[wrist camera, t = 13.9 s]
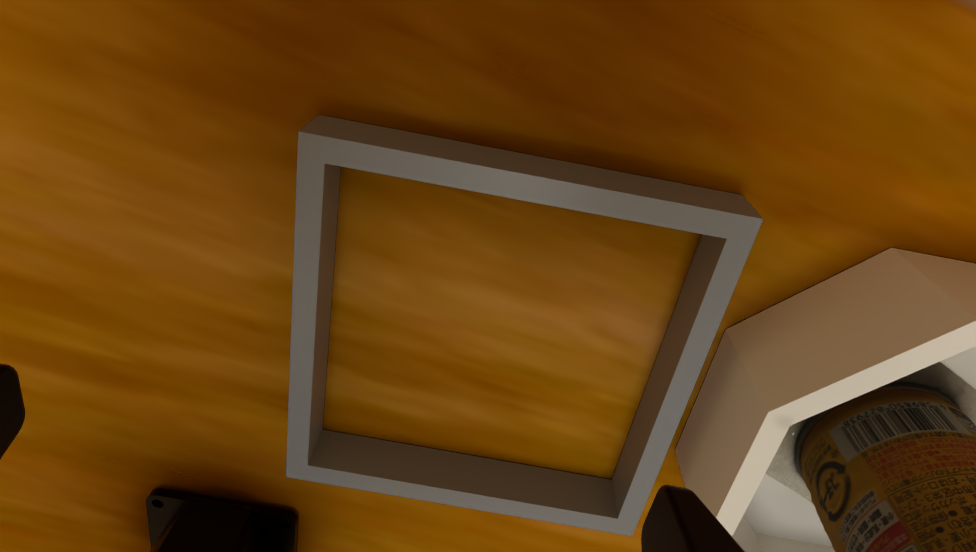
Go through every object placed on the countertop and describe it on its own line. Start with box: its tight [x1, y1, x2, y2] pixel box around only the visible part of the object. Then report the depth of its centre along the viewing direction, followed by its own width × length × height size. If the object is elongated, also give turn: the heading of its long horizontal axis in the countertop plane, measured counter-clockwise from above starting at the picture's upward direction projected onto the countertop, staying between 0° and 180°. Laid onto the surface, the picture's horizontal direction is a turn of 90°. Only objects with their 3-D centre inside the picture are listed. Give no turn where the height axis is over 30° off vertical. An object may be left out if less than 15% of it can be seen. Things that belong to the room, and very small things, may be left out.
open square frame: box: [286, 115, 763, 536], centre depth 22 cm, size 14×14×2 cm
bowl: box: [675, 248, 976, 552], centre depth 22 cm, size 14×14×4 cm
